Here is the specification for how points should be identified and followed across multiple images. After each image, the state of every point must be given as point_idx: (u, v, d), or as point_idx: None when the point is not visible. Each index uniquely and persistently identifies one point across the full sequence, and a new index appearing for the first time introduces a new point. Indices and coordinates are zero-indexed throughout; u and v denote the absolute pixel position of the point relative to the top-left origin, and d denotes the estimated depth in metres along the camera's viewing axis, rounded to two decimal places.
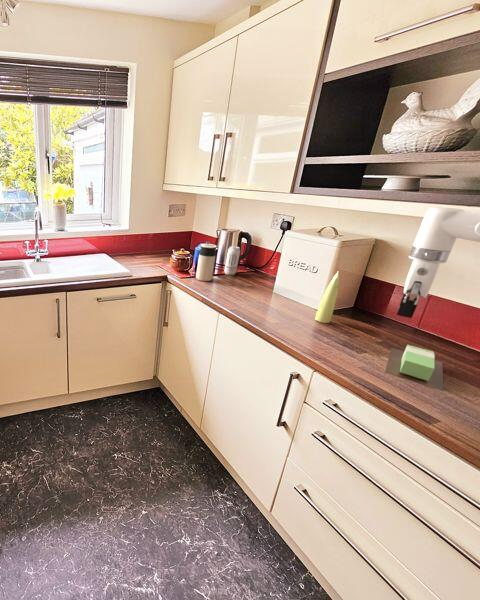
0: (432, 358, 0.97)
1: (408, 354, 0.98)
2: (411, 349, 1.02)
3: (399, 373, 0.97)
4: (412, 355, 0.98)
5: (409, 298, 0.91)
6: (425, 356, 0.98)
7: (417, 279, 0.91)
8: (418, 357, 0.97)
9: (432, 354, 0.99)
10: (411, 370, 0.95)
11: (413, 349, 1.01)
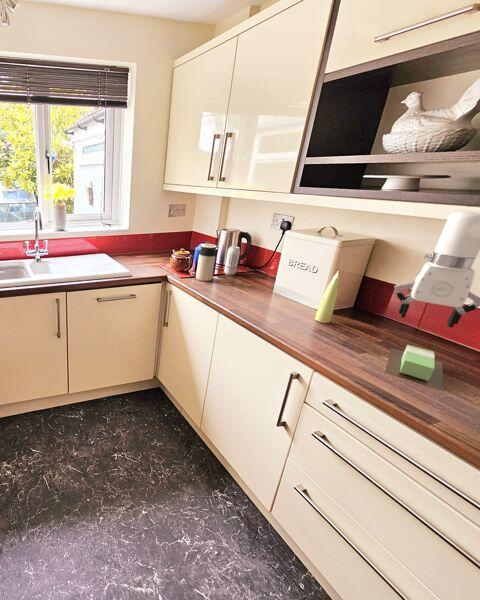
0: (432, 358, 0.97)
1: (408, 354, 0.98)
2: (411, 349, 1.02)
3: (399, 373, 0.97)
4: (412, 355, 0.98)
5: None
6: (425, 356, 0.98)
7: (416, 279, 0.92)
8: (418, 357, 0.97)
9: (432, 354, 0.99)
10: (411, 370, 0.95)
11: (413, 349, 1.01)
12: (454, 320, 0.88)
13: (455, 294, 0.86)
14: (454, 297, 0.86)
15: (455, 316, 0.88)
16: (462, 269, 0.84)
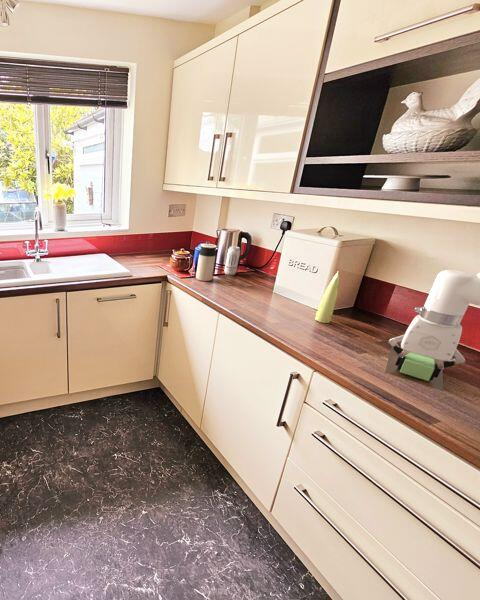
0: None
1: (408, 354, 0.98)
2: None
3: (399, 373, 0.97)
4: (412, 355, 0.98)
5: None
6: None
7: None
8: (418, 357, 0.97)
9: None
10: (411, 370, 0.95)
11: None
12: (433, 374, 0.92)
13: (442, 349, 0.89)
14: (441, 351, 0.89)
15: (434, 370, 0.92)
16: (448, 326, 0.87)
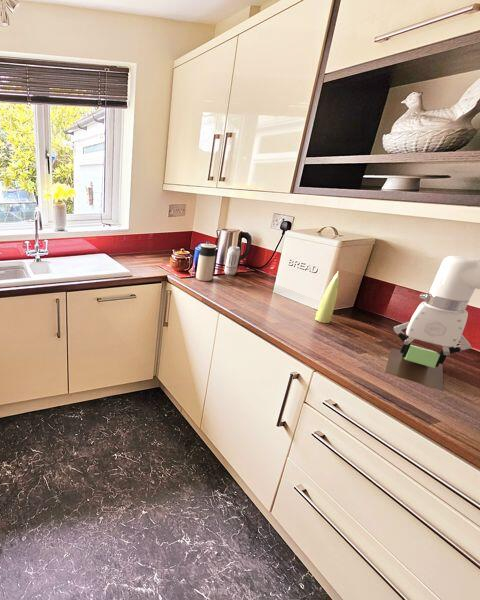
0: (434, 351, 0.97)
1: (411, 346, 0.99)
2: (412, 345, 1.02)
3: (399, 373, 0.97)
4: (415, 347, 0.98)
5: None
6: (427, 350, 0.98)
7: None
8: (421, 348, 0.97)
9: (433, 351, 1.00)
10: (416, 357, 0.94)
11: (414, 346, 1.02)
12: (439, 360, 0.92)
13: (448, 335, 0.89)
14: (447, 337, 0.89)
15: (439, 356, 0.92)
16: (454, 311, 0.86)
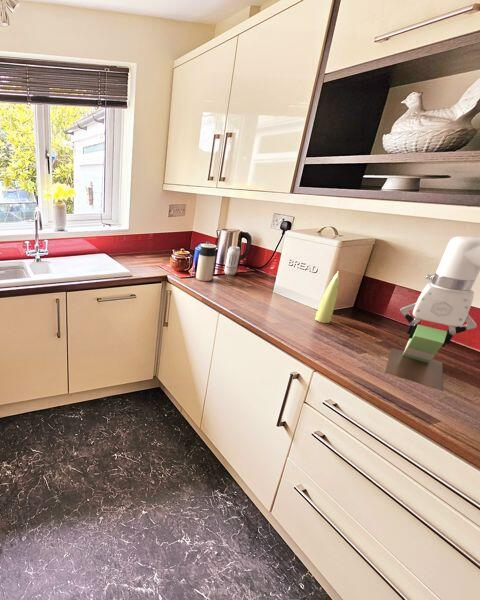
0: None
1: None
2: None
3: (399, 373, 0.97)
4: None
5: None
6: None
7: (418, 298, 0.97)
8: None
9: None
10: (425, 333, 0.95)
11: None
12: (445, 340, 0.94)
13: (454, 314, 0.91)
14: (453, 317, 0.91)
15: (446, 336, 0.94)
16: (460, 291, 0.88)
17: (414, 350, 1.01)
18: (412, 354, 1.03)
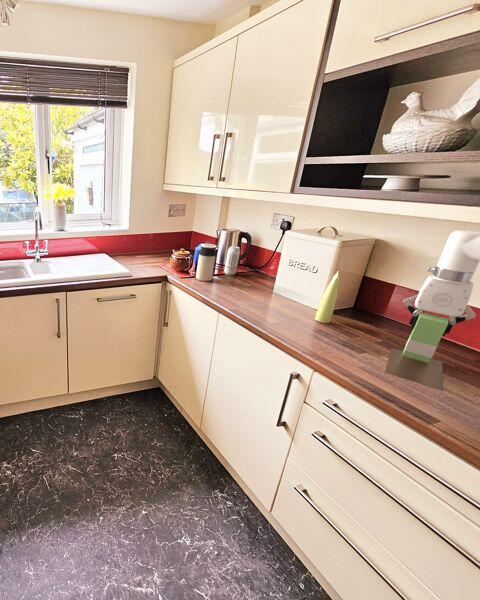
0: None
1: None
2: None
3: (399, 373, 0.97)
4: None
5: None
6: None
7: None
8: None
9: None
10: (429, 317, 1.00)
11: None
12: (445, 329, 0.98)
13: (454, 305, 0.95)
14: (453, 307, 0.95)
15: None
16: (460, 282, 0.93)
17: (417, 341, 1.02)
18: (413, 350, 1.04)
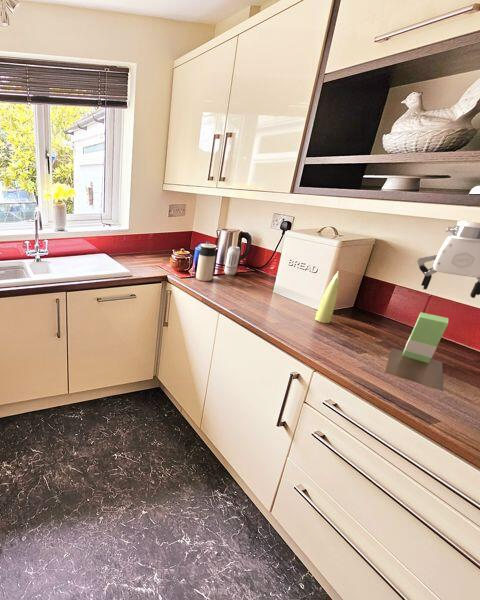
0: None
1: None
2: None
3: (399, 373, 0.97)
4: None
5: None
6: None
7: None
8: None
9: None
10: (429, 317, 1.00)
11: None
12: (476, 290, 0.92)
13: (476, 264, 0.90)
14: (475, 267, 0.90)
15: (476, 286, 0.92)
16: None
17: (417, 341, 1.02)
18: (413, 350, 1.04)
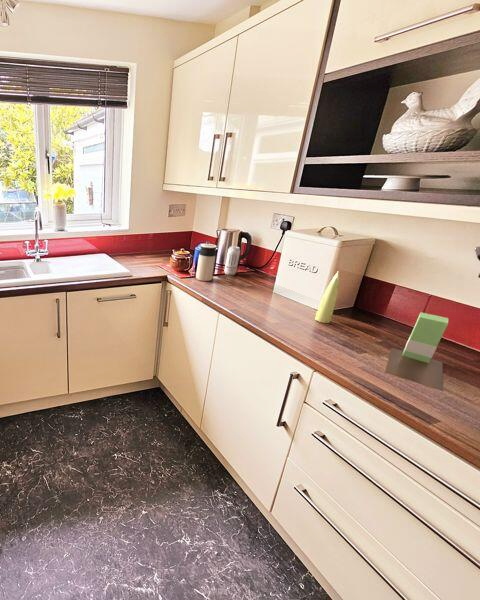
0: None
1: None
2: None
3: (399, 373, 0.97)
4: None
5: None
6: None
7: None
8: None
9: None
10: (429, 317, 1.00)
11: None
12: None
13: None
14: None
15: None
16: None
17: (417, 341, 1.02)
18: (413, 350, 1.04)
